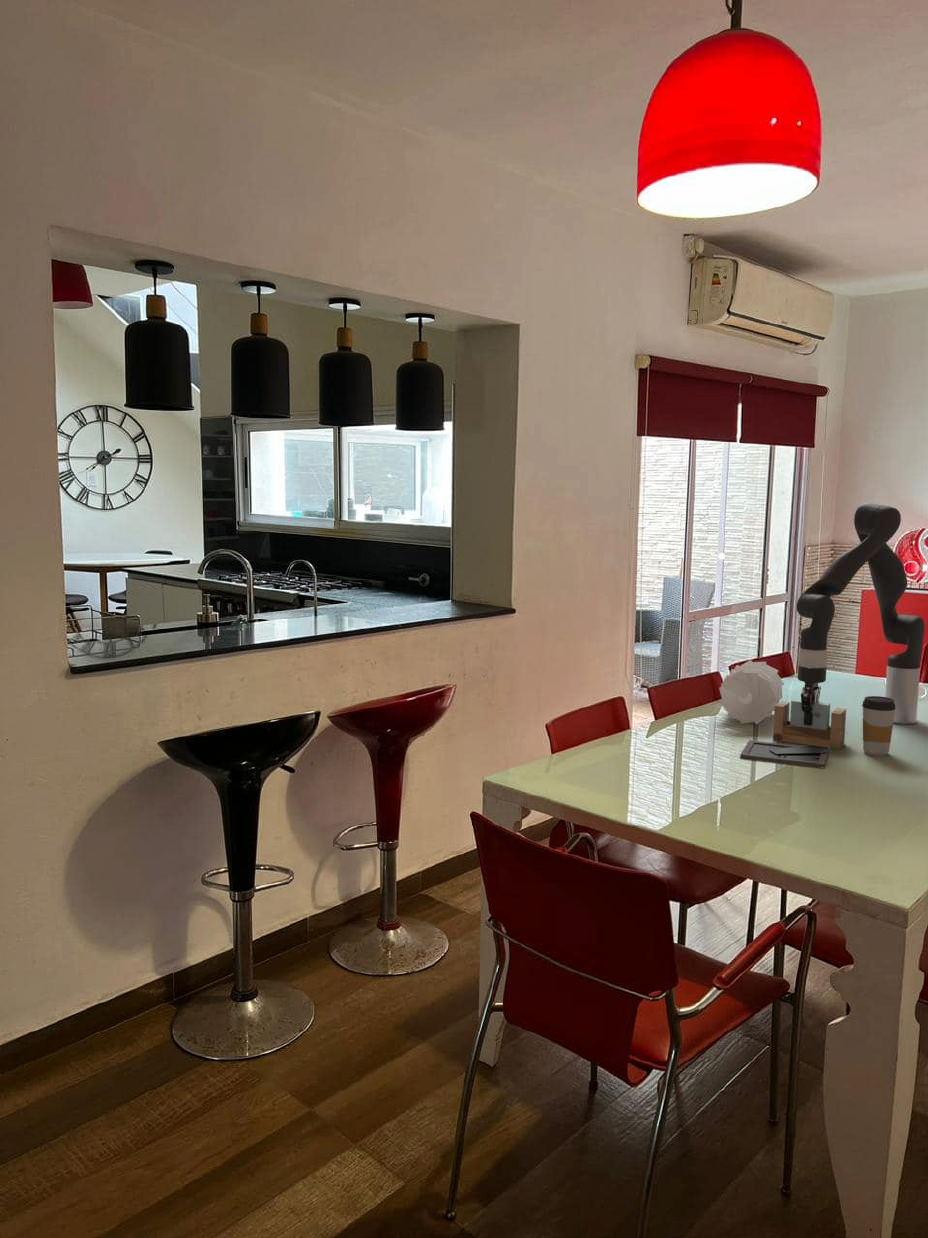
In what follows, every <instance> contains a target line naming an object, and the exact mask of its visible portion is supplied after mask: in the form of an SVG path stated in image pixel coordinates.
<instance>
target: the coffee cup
mask: <svg viewBox="0 0 928 1238" xmlns="http://www.w3.org/2000/svg"><path fill="white" fill-rule="evenodd" d="M861 706H862V744H863V745H862V746H863V747H862V749H863V751H864V753H865V754H868V755H871V756H877V757H879V756H883V757H884V756H887V755H888V754H889V752H890V747H891V741H892V735H893V730H894V729H893V727H894V722H893V719H894V712H895V709H896V708H895V706H896V705H895V703H894V700H893V699H891V698H887V697H885V696H878V695H876V696H875V695H871V696H870V695H869V696H865V697H864V699H863V701H862V704H861Z"/></svg>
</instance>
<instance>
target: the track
mask: <svg viewBox="0 0 928 1238" xmlns="http://www.w3.org/2000/svg"><path fill="white" fill-rule="evenodd" d="M790 708H791V701H782V700H781V701H779V703H778V704H776V705H775V706H774V711H773V731H772V740H773V739H774V740H773V741H779V740H781V742H786V741H789V742H788V743H793V742H795V743H794V744H800V743H801V744H800V745H807V744H808V745H812V746H814V745H815V746H821V747H829V749H834V748H835V750H840V749H841V748H842V746H843V745H844V744H845V739H846V737H845V736H846V735H845V734H846V719H847V718H846V717H847V708H840V707H836V708H835V709H834V710H833V711H831V712H830V715H831V716H830V717H831V718H830V725H829V731H827V730H819V729H812V728H805V727H797V726H790Z"/></svg>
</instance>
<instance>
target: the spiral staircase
mask: <svg viewBox="0 0 928 1238" xmlns="http://www.w3.org/2000/svg"><path fill="white" fill-rule="evenodd" d="M778 672H779V670H778V669H776V668H774V667H772V666H770V665H768V664H767V661H756V662H755V661H754V662H753V660H752V659H749V660H748V661H746V662H744V663H743V664H741V665H738V664H736V666H734V669H732V668H731V670H730V672H729V674H726V675H725V678H724V679H723V681H722V682H721V684H720V687H719V692H720V697H721V701H720V702H719V704H720V705H721V706H722V708H724V710H726V711H727V714H726V715H727V717H729V718H732V719H735V720H738V721H740V724H748V723H749V724H750V723H753V722H754V723H755V725H758V724H759V723H760V722H761V721H763V720H764V719H765V718H771V715H772V714H773V713H774V706H775V705H776V704H778V703H779V702H780V700H781V699H783V686H785V682H784V680H782V679H781V677H780V676H779V674H778ZM781 701H782V700H781Z"/></svg>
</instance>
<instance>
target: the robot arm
mask: <svg viewBox="0 0 928 1238" xmlns="http://www.w3.org/2000/svg"><path fill="white" fill-rule="evenodd" d="M901 521H902V516H901V513H900V511H899V509H898V508H896V507H894V506H893V507H892V506H890V505H884V504H879V503H872V502H865V503H862V504H860V505H858V507H857V509H856V510H855V513H854V516H853V524H854V529H855V531H856V534H857V537H858V540H859V543H858V544H857V545H855V546H853V547H852V548H850V549H848V550H847V551H845V552H843V553H842V554H840V555H839V556H838V557H836V558H835V559H834V560H833V561H832V562H831V563H830V564H829V566H828V567H827V569H826V570H825V571H824V573H822V576H820V578H818V580H816V581H815V582H813V584H811V585H810V586H809V587H808V588H807V589H805V590H804V591H803V592H802V594H801V595H800V596H799V597H798V599H797V601H796V602H797V603H796V612H797V613H798V615H799V616H801V617H803V618H806V619H811V623H810V625H809V626H807V627H803V628H802V629H801V631H800V640H799V641H800V642H799V652H798V661H797V663H798V664H797V680H798V681H799V682H804V686H803V687H802V689H801V693H800V700H801V704H802V711H803V712H804V725H808V726H811V725H812V720H813V707H814V705H815V704H816V702H820V697H821V691H822V687H821V685H819V684H821V683H825V682H826V680H827V666H828V665H827V664H828V654H827V653H828V650H827V646H828V633H829V631H830V629H831V625H832V622H833V619H834V616H835V611H836V610H835V609H836V608H835V607H836V606H835V603H834V601H833V599H832V598H831V597H834V596H839V595H841V594H842V593H843V592H844V590H845V589H846V587H847V586H848V585H849V583H850V582H852V579H853V578H854V577H855V575H856V574H857V573H858V572H859V571H860V570H861V569H862V567H863V566H864V565H865V564H866V563H867V564H868V569H869V573H870V577H871V582H872V585H873V588H874V592H875V595H876V599H877V603H878V607H879V611H880V618H881V619H880V620H881V626H882V632H883V636H884V638H885V640H886V641H887V642H888V643H890V644H895V645H904V646H906V650H905V651H903V652H901V653H896V654H892V655H891V654H890V655H889V656H888V657H887V660H886V661H887V662H886V675H885V676H886V677H885V678H886V680H885V691H884V692H885V694H884V695H885V696H884V697H887V698H891V699H893V700H894V703H895V705H896V706H895V708H896V709H895V712H894V719H893V724H902V725H905V724H908V725H909V724H916V723H917V718H918V717H917V716H918V705H919V703H918V701H919V687H920V672H921V663H922V656H923V646H924V640H925V631H926V629H925V628H926V626H925V625H926V624H925V620H924V618H923V617H921V616H920V615H919V616H918V615H912V614H909V615H908V614H900V613H898V612H897V609H896V608H897V607H896V606H897V604H898V602H899V601H900V600H901V598H902V596H903V595H904V593H905V592H906V589H907V586H908V578H907V574H906V570H905V565H904V564H903V562H902V560H901V558H900V557H899V556H898V555H897V553H896V552H895V551H894V550H893V549H892V548H891V547H890V546H889V545H888V544H887V543H888V542H889V541H890V540H891V538H893V537H894V536H895V534H896V533H897V531H898V530H899V528H900V526H901ZM811 701H812V702H811ZM806 705H808V706H809V707H806Z"/></svg>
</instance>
